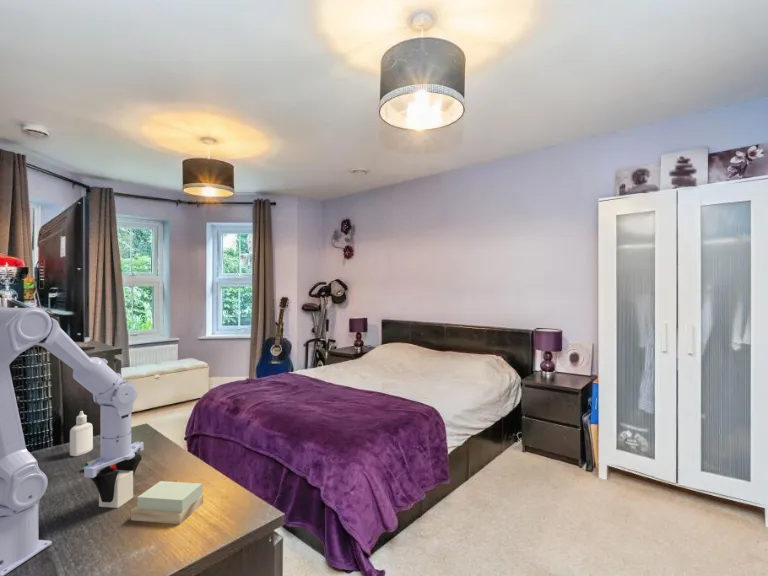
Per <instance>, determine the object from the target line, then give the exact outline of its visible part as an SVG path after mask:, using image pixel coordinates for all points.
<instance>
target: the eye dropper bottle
mask: <svg viewBox="0 0 768 576" xmlns="http://www.w3.org/2000/svg"><path fill="white" fill-rule="evenodd" d="M87 417H88V415H86V414H84V411H83V410H80V411H79V414H78V415H77V416H76V417H75V422H76V424H75V425H74V426H73V427H71V428H70V430H69V456H70V457H78V456H82V455H85V454H87V453H90V452H91V451H92V450H93V448H94V439H93V438H94V434H93V433H94V431H93V429H94V427H93V424H92V423H91V422H87V420H88V419H87Z"/></svg>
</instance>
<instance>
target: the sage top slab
mask: <svg viewBox="0 0 768 576" xmlns="http://www.w3.org/2000/svg"><path fill="white" fill-rule="evenodd" d="M202 495H203V483H199V482H198V483H197V482H195V483H193V482H183V481H181V482H180V481H162V480H159V482H158V481H157V483H155V484H154V485H152V487H149V488H148V489H147V490H145V491H144V492H143V493H141V494H140V495H138V496H137V502H136V503H137V506H136V507H137V508H138V509H142V510H156V511H169V512H184V511H185V510H186V509H187V508H188V507H189V506H190V505H191V504H193V503H194V502H195V501H196V500H197V499H198V498H199V497H201V496H202Z"/></svg>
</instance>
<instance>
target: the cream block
mask: <svg viewBox="0 0 768 576" xmlns="http://www.w3.org/2000/svg"><path fill="white" fill-rule="evenodd" d="M115 470H116V469H115ZM116 471H119V472H118V475H117V477H116V481H115V485H114V497H113V501H112V502H102V500H101V497H100V494H99V493H98V507H101V508H115V509H119V508H120V507H121V506H123V505H124V504H126V503H127V502H128V501H130V500H131V499H133V498H134V477H133V471H127V470H116Z"/></svg>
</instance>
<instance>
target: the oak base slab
mask: <svg viewBox="0 0 768 576" xmlns="http://www.w3.org/2000/svg"><path fill="white" fill-rule="evenodd" d="M203 504H204V494H202V496H201V497H199V498H198V499H197V500H196V501H195V502H194V503H193V504H191V505H190V506H189V507H188V508H187V509H186V510H185V511H184V512H169V511H156V510H142V509H138V508H137V506H135V507H134V508H132V509H131V510H130V521H138V522H139V521H140V522H149V523H161V524H171V525H172V524H173V525H181V524H183V523H184V522H185V521H186V520H187V519H188V518H189V517H190V516H192V515H193V513H194V512H195V511H197V510H198V509H199V508H200V507H201V506H202V505H203Z"/></svg>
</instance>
